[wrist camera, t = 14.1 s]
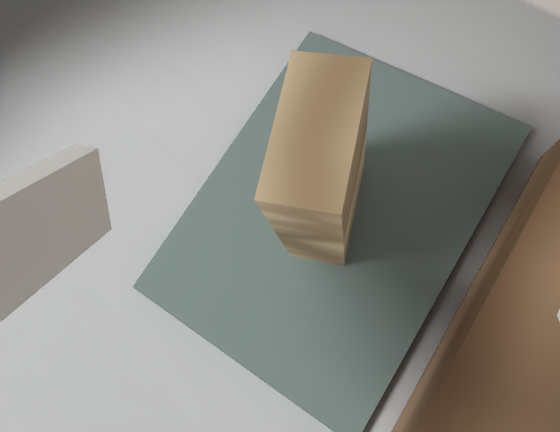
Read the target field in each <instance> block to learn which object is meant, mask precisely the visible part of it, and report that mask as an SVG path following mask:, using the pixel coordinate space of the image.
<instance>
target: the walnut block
mask: <svg viewBox="0 0 560 432" xmlns="http://www.w3.org/2000/svg"><path fill="white" fill-rule="evenodd" d="M559 309H560V139H559V140H558V141H557V142H556V143H555V144H554V145H553V146H552V147H551V148H550V149H549V150H548V151H547V152H546V153H545V154H544V155H543V156H542V157H541V158H540V160H539V162H538V164H537V165H536V167H535V169H534V171H533V173H532V175H531V176H530V178H529V180H528V182H527V184H526V186H525V188H524V189H523V191H522V193H521V195H520V197H519V199H518V200H517V202H516V204H515V206H514V208H513V210H512V211H511V213H510V215H509V217H508V219H507V221H506V222H505V224H504V226H503V228H502V230H501V232H500V233H499V235H498V237H497V239H496V241H495V243H494V244H493V246H492V248H491V250H490V252H489V254H488V255H487V257H486V259H485V261H484V263H483V265H482V266H481V268H480V270H479V272H478V274H477V276H476V277H475V279H474V281H473V283H472V285H471V287H470V288H469V290H468V292H467V294H466V296H465V298H464V299H463V301H462V303H461V305H460V307H459V309H458V310H457V312H456V314H455V316H454V318H453V320H452V321H451V323H450V325H449V327H448V329H447V331H446V332H445V334H444V336H443V338H442V340H441V342H440V343H439V345H438V347H437V349H436V351H435V353H434V355H433V356H432V358H431V360H430V362H429V364H428V366H427V367H426V369H425V371H424V373H423V375H422V377H421V378H420V380H419V382H418V384H417V386H416V388H415V389H414V391H413V393H412V395H411V397H410V399H409V400H408V402H407V404H406V406H405V408H404V410H403V411H402V413H401V415H400V417H399V419H398V421H397V422H396V424H395V426H394V428H393V430H392V432H560V322H559V319H558V317H557V313H558V311H559Z"/></svg>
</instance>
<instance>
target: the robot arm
mask: <svg viewBox="0 0 560 432" xmlns="http://www.w3.org/2000/svg"><path fill="white" fill-rule="evenodd" d="M110 230H111V223H110V217H109V211H108V205H107V199H106V194H105V188H104V182H103V176H102V170H101V164H100V158H99V152H98V148H94V147H87V146H81V145H73V146H71V147H69V148H67V149H65V150H63V151H61V152H59V153H57V154H55V155H53V156H51V157H49V158H47V159H45V160H43V161H41V162H39V163H37V164H35V165H33V166H31V167H29V168H27V169H25V170H23V171H21V172H19V173H17V174H15V175H13V176H11V177H9V178H7V179H5V180H3V181H1V182H0V322H1V321H2V320H4V319H5V318H6V317H7V316H8V315H10V314H11V313H12V312H13V311H14V310H15V309H17V308H18V307H19V306H20V305H21V304H23V303H24V302H25V301H26V300H27V299H29V298H30V297H31V296H32V295H33V294H35V293H36V292H37V291H38V290H39V289H41V288H42V287H43V286H44V285H45V284H46V283H48V282H49V281H50V280H51V279H52V278H54V277H55V276H56V275H57V274H58V273H60V272H61V271H62V270H63V269H64V268H66V267H67V266H68V265H69V264H70V263H72V262H73V261H74V260H75V259H76V258H77V257H79V256H80V255H81V254H82V253H83V252H85V251H86V250H87V249H88V248H89V247H91V246H92V245H93V244H94V243H95V242H97V241H98V240H99V239H100V238H101V237H103V236H104V235H105V234H106V233H107V232H108V231H110ZM557 317H558V319H559V322H560V309H559V311H558V313H557Z"/></svg>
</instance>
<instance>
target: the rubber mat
mask: <svg viewBox="0 0 560 432" xmlns="http://www.w3.org/2000/svg"><path fill="white" fill-rule="evenodd" d="M296 51H304V52H314V53H325V54H336V55H346V56H357V57H367V58H370V57H368V56H366V55H363V54H361V53H359V52H356V51H354V50H352V49H350V48H347V47H345V46H343V45H340V44H338V43H336V42H333V41H331V40H329V39H326V38H324V37H322V36H319V35H317V34H315V33H312V32H309V33H308V34H307V36H306V37H305V39H304V40H303V42H302V43H301V45H300V46H299V47H298V49H297V50H296ZM288 63H289V62H288ZM288 63H287V65H286V66H285V68H284V69H283V71H282V72H281V73H280V75H279V76H278V78H277V79H276V81H275V82H274V84H273V85H272V86H271V88H270V89H269V91H268V92H267V94H266V95H265V97H264V98H263V99H262V101H261V102H260V104H259V105H258V107H257V108H256V110H255V111H254V112H253V114H252V115H251V117H250V118H249V120H248V121H247V123H246V124H245V125H244V127H243V128H242V130H241V131H240V133H239V134H238V136H237V137H236V138H235V140H234V141H233V143H232V144H231V146H230V147H229V149H228V150H227V151H226V153H225V154H224V156H223V157H222V159H221V160H220V162H219V163H218V164H217V166H216V167H215V169H214V170H213V172H212V173H211V175H210V176H209V177H208V179H207V180H206V182H205V183H204V185H203V186H202V188H201V189H200V190H199V192H198V193H197V195H196V196H195V198H194V199H193V201H192V202H191V203H190V205H189V206H188V208H187V209H186V211H185V212H184V214H183V215H182V216H181V218H180V219H179V221H178V222H177V224H176V225H175V227H174V228H173V230H172V231H171V232H170V234H169V235H168V237H167V238H166V240H165V241H164V243H163V244H162V245H161V247H160V248H159V250H158V251H157V253H156V254H155V256H154V257H153V258H152V260H151V261H150V263H149V264H148V266H147V267H146V269H145V270H144V271H143V273H142V274H141V276H140V277H139V279H138V280H137V282H136V283H135V284H134V286H133V287H134V288H135V289H136V290H138V291H139V292H140V293H142V294H143V295H145V296H146V297H147V298H149V299H150V300H152V301H153V302H154V303H156V304H157V305H159V306H160V307H161V308H163V309H164V310H166V311H167V312H168V313H170V314H171V315H172V316H174V317H175V318H177V319H178V320H179V321H181V322H182V323H184V324H185V325H186V326H188V327H189V328H191V329H192V330H193V331H195V332H196V333H197V334H199V335H200V336H202V337H203V338H204V339H206V340H207V341H209V342H210V343H211V344H213V345H214V346H216V347H217V348H218V349H220V350H221V351H222V352H224V353H225V354H227V355H228V356H229V357H231V358H232V359H234V360H235V361H236V362H238V363H239V364H241V365H242V366H243V367H245V368H246V369H247V370H249V371H250V372H252V373H253V374H254V375H256V376H257V377H259V378H260V379H261V380H263V381H264V382H266V383H267V384H268V385H270V386H271V387H273V388H274V389H275V390H277V391H278V392H279V393H281V394H282V395H284V396H285V397H286V398H288V399H289V400H291V401H292V402H293V403H295V404H296V405H298V406H299V407H300V408H302V409H303V410H304V411H306V412H307V413H309V414H310V415H311V416H313V417H314V418H316V419H317V420H318V421H320V422H321V423H323V424H324V425H325V426H327V427H328V428H329V429H331V430H332V431H334V432H362V431H363V430H364V428H365V426H366V424H367V423H368V421H369V419H370V417H371V415H372V414H373V412H374V410H375V408H376V406H377V405H378V403H379V401H380V399H381V397H382V396H383V394H384V392H385V390H386V388H387V387H388V385H389V383H390V381H391V379H392V378H393V376H394V374H395V372H396V370H397V369H398V367H399V365H400V363H401V361H402V360H403V358H404V356H405V354H406V352H407V351H408V349H409V347H410V345H411V343H412V342H413V340H414V338H415V336H416V335H417V333H418V331H419V329H420V327H421V326H422V324H423V322H424V320H425V318H426V317H427V315H428V313H429V311H430V309H431V308H432V306H433V304H434V302H435V300H436V299H437V297H438V295H439V293H440V291H441V290H442V288H443V286H444V284H445V282H446V281H447V279H448V277H449V275H450V273H451V272H452V270H453V268H454V266H455V264H456V263H457V261H458V259H459V257H460V255H461V254H462V252H463V250H464V248H465V247H466V245H467V243H468V241H469V239H470V238H471V236H472V234H473V232H474V230H475V229H476V227H477V225H478V223H479V221H480V220H481V218H482V216H483V214H484V212H485V211H486V209H487V207H488V205H489V203H490V202H491V200H492V198H493V196H494V194H495V193H496V191H497V189H498V187H499V185H500V184H501V182H502V180H503V178H504V176H505V175H506V173H507V171H508V169H509V167H510V166H511V164H512V162H513V160H514V159H515V157H516V155H517V153H518V151H519V150H520V148H521V146H522V144H523V142H524V141H525V139H526V137H527V135H528V133H529V132H530V130H531V128H532V127H531V126H529V125H527V124H524V123H522V122H520V121H517V120H515V119H513V118H510V117H508V116H506V115H503V114H501V113H499V112H496V111H494V110H492V109H489V108H487V107H485V106H482V105H480V104H478V103H475V102H473V101H471V100H468V99H466V98H464V97H461V96H459V95H457V94H454V93H452V92H450V91H447V90H445V89H443V88H440V87H438V86H436V85H433V84H431V83H429V82H426V81H424V80H422V79H419V78H417V77H415V76H412V75H410V74H408V73H405V72H403V71H401V70H398V69H396V68H394V67H391V66H389V65H387V64H384V63H382V62H380V61H377V60H375V59H373V58H372V68H371V82H370V95H369V108H368V121H367V134H366V147H365V160H364V168H363V173H362V178H361V184H360V189H359V194H358V200H357V205H356V210H355V215H354V221H353V226H352V231H351V237H350V242H349V247H348V253H347V258H346V263H345V266H341V265H336V264H331V263H325V262H320V261H315V260H310V259H305V258H300V257H295V256H291V255H290V254H289V252H288V251H287V249H286V248H285V246H284V245H283V243H282V242H281V240H280V239H279V237H278V236H277V234H276V233H275V231H274V230H273V228H272V227H271V225H270V224H269V222H268V221H267V219H266V217H265V216H264V214H263V213H262V211H261V210H260V208H259V207H258V205H257V204H256V202H255V201H254V198H255V194H256V190H257V186H258V182H259V178H260V174H261V170H262V166H263V162H264V158H265V154H266V150H267V146H268V142H269V138H270V134H271V130H272V126H273V122H274V118H275V115H276V111H277V107H278V103H279V99H280V95H281V91H282V87H283V83H284V79H285V75H286V71H287V67H288Z"/></svg>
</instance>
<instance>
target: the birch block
mask: <svg viewBox="0 0 560 432" xmlns="http://www.w3.org/2000/svg"><path fill="white" fill-rule="evenodd" d="M371 68H372V58H367V57H357V56H346V55H336V54H325V53H314V52H304V51H293V50H292V51H291V55H290V59H289V63H288V67H287V71H286V75H285V79H284V83H283V87H282V91H281V95H280V99H279V103H278V107H277V111H276V115H275V118H274V122H273V126H272V130H271V134H270V138H269V142H268V146H267V150H266V154H265V158H264V162H263V166H262V170H261V174H260V178H259V182H258V186H257V190H256V194H255V198H254V201H255V202H256V204H257V205H258V207H259V208H260V210H261V211H262V213H263V214H264V216H265V217H266V219H267V221H268V222H269V224H270V225H271V227H272V228H273V230H274V231H275V233H276V234H277V236H278V237H279V239H280V240H281V242H282V243H283V245H284V246H285V248H286V249H287V251H288V252H289V254H290V255H291V256H295V257H300V258H305V259H310V260H315V261H320V262H325V263H331V264H336V265H341V266H345V263H346V258H347V253H348V247H349V242H350V237H351V231H352V226H353V221H354V215H355V210H356V205H357V200H358V194H359V189H360V184H361V178H362V173H363V168H364V160H365V147H366V134H367V121H368V108H369V95H370V82H371Z"/></svg>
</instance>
